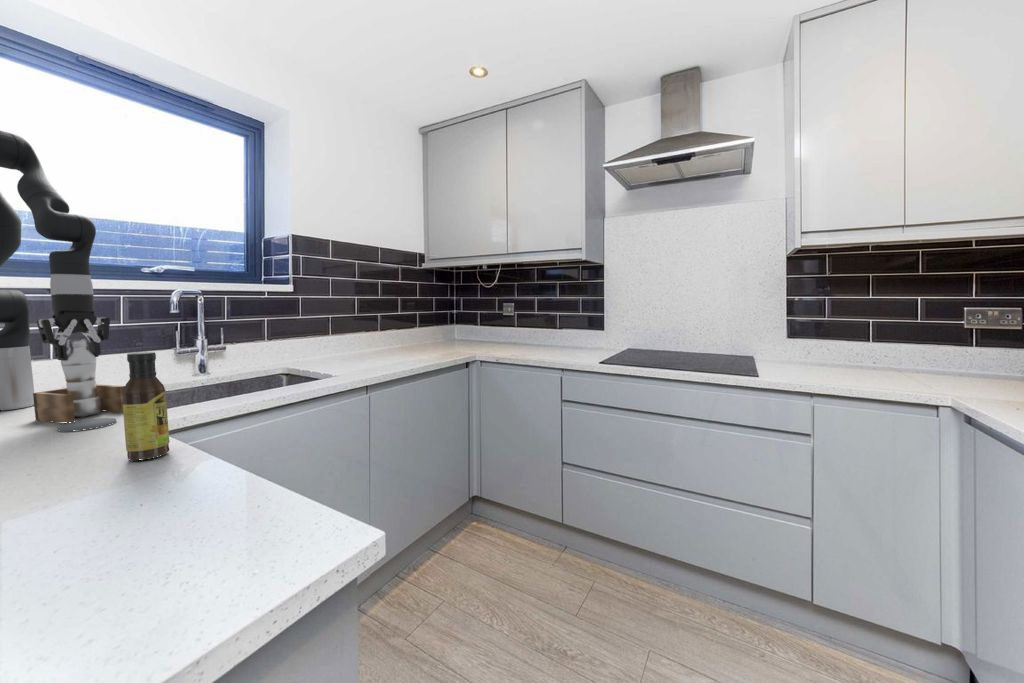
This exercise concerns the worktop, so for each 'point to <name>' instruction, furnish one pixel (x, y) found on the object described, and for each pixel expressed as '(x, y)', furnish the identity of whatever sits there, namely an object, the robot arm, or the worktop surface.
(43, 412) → the holder
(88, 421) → the mat
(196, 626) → the worktop surface
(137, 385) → the sauce bottle
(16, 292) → the robot arm
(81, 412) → the plastic bottle
